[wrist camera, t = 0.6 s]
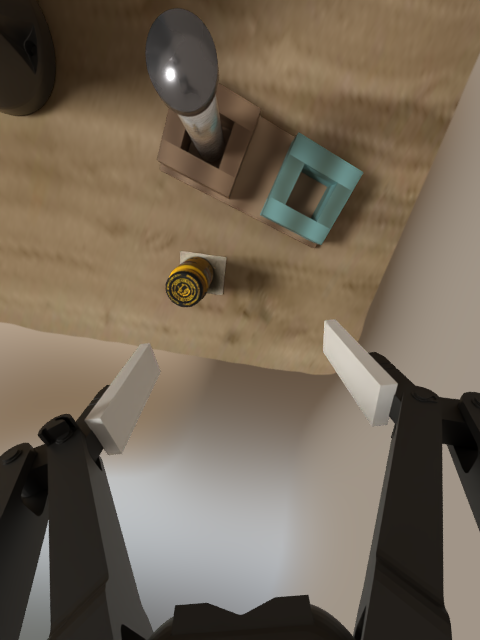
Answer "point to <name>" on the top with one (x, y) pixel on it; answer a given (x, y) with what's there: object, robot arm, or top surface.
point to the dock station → (263, 170)
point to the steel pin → (187, 76)
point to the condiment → (195, 278)
